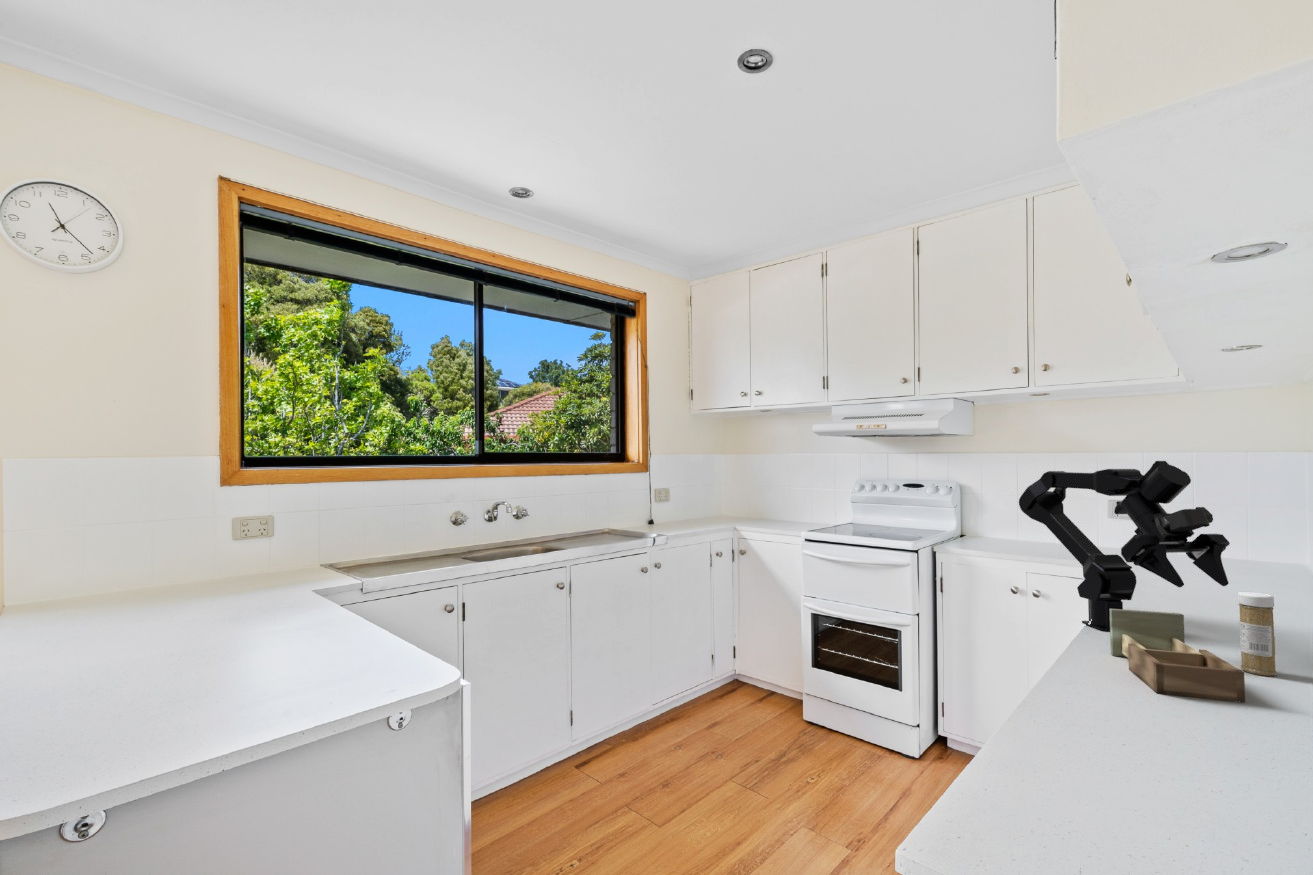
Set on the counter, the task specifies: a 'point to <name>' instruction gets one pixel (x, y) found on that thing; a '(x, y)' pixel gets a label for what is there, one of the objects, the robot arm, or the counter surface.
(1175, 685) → the walnut caddy
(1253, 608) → the spice jar
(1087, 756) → the counter surface
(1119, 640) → the drawer
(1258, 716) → the counter surface
